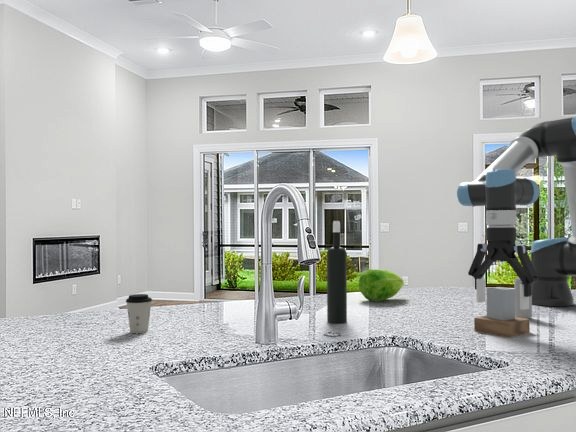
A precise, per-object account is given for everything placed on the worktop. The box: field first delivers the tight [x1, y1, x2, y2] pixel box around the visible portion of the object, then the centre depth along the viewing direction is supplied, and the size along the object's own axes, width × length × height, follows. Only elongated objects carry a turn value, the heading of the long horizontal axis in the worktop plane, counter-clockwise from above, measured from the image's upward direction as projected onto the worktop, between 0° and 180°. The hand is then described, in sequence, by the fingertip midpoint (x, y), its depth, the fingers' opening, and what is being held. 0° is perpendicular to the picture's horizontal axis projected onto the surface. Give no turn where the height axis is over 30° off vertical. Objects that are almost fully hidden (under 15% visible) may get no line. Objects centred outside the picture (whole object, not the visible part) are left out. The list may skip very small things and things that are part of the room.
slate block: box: [486, 286, 515, 320], centre depth 139 cm, size 5×5×8 cm
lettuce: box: [358, 268, 405, 303], centre depth 193 cm, size 14×20×12 cm
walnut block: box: [473, 314, 531, 338], centre depth 138 cm, size 10×10×4 cm
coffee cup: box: [125, 293, 153, 335], centre depth 140 cm, size 7×7×10 cm
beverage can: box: [513, 277, 533, 319], centre depth 157 cm, size 5×5×12 cm
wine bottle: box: [326, 220, 348, 325], centre depth 153 cm, size 6×6×30 cm
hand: (501, 305), depth 139 cm, fingers open, 13 cm apart
